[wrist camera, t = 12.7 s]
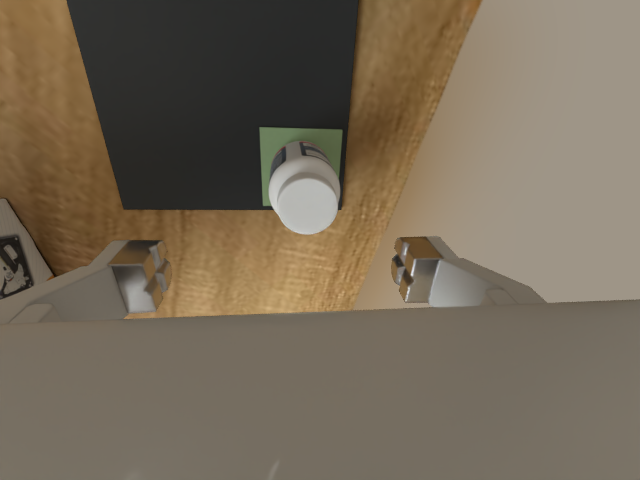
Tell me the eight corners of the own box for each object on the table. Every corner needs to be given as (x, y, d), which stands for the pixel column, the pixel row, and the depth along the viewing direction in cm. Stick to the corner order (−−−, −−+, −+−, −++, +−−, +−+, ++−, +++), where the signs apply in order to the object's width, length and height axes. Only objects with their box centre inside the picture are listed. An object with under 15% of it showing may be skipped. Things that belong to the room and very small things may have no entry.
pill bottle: (282, 204, 29) (281, 252, 21) (262, 150, 27) (253, 182, 19) (336, 188, 29) (355, 231, 21) (321, 132, 26) (336, 157, 19)
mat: (43, -95, 19) (36, -100, 19) (362, -64, 21) (364, -67, 21) (125, 207, 29) (122, 210, 28) (340, 208, 31) (341, 211, 30)
